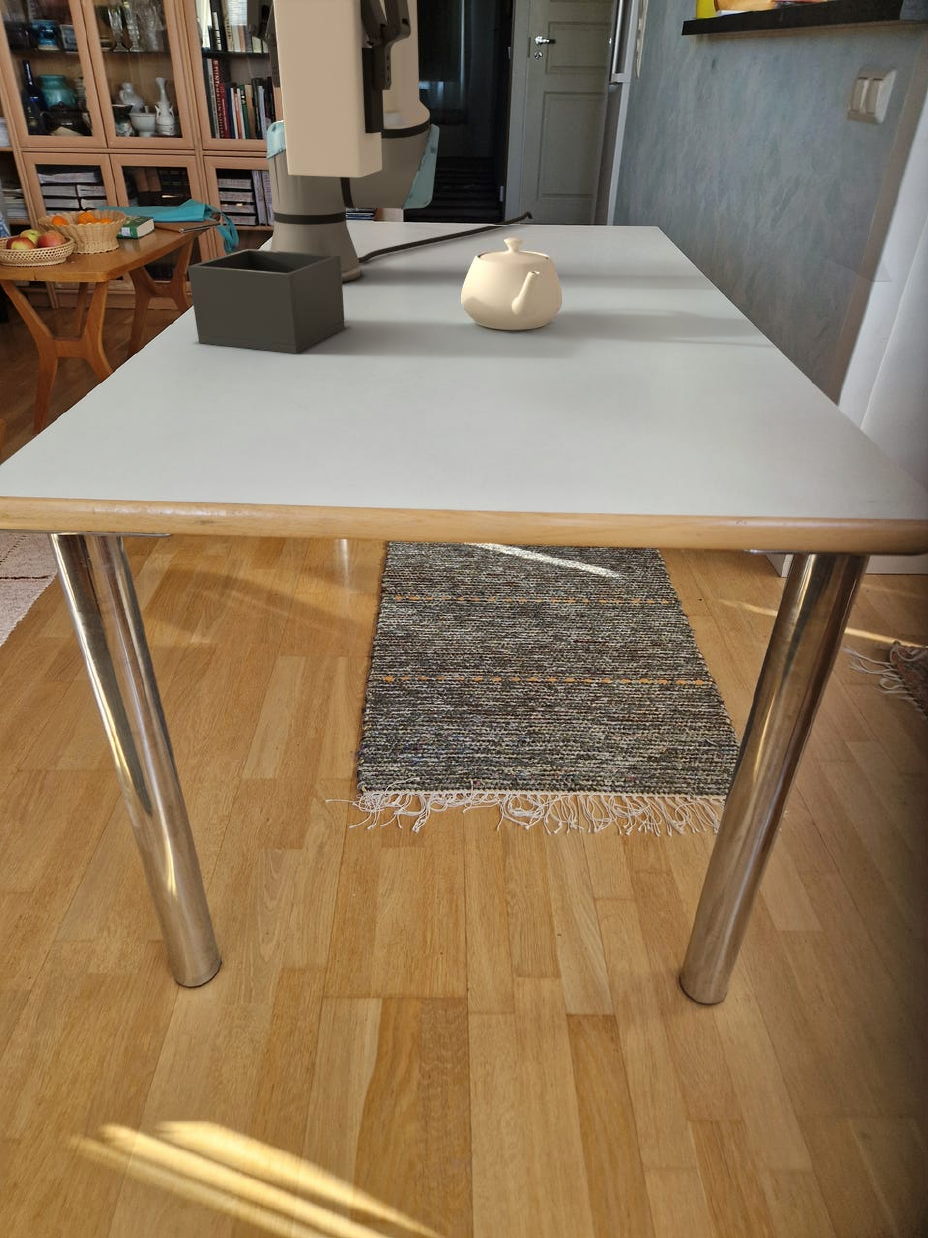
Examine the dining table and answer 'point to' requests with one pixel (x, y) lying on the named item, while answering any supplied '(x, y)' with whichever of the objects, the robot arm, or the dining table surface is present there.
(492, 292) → the teapot
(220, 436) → the dining table surface
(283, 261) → the waste bin
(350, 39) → the milk carton
